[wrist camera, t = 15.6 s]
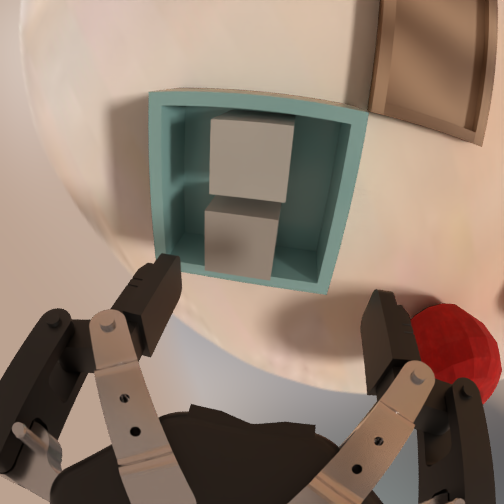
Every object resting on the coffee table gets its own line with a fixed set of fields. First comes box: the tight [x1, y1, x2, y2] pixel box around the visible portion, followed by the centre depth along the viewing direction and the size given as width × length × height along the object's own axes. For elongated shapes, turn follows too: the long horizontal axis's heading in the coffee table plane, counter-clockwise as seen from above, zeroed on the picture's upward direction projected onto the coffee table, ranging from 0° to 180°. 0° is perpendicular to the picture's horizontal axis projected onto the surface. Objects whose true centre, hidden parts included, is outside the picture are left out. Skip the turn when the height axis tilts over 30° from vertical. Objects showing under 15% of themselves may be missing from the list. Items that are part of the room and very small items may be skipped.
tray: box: [367, 0, 498, 147], centre depth 13 cm, size 13×9×1 cm
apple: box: [410, 303, 502, 404], centre depth 21 cm, size 10×10×11 cm
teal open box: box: [148, 88, 369, 295], centre depth 19 cm, size 12×12×4 cm
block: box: [205, 195, 282, 281], centre depth 20 cm, size 4×4×5 cm
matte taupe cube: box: [209, 110, 296, 203], centre depth 17 cm, size 4×4×5 cm
